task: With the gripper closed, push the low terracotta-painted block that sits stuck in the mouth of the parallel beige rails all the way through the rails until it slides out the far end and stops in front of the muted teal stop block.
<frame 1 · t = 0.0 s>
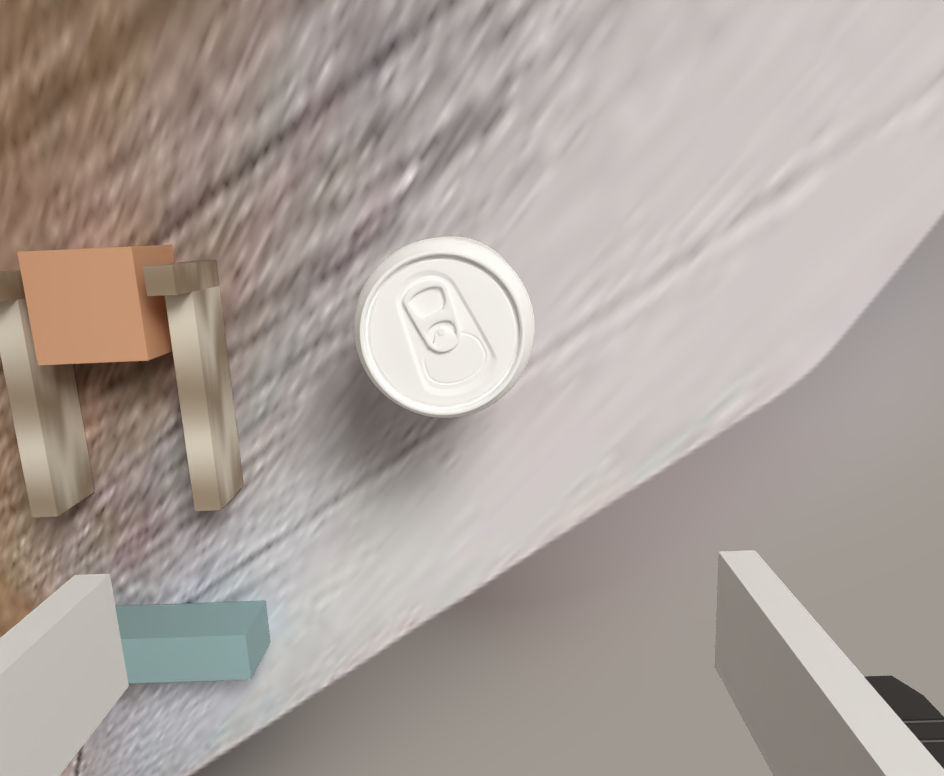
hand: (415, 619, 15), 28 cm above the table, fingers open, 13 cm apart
parallel beige rails: (141, 380, 43), on the table
stop block: (177, 624, 46), on the table
beverage can: (453, 305, 42), on the table
block: (130, 298, 42), on the table
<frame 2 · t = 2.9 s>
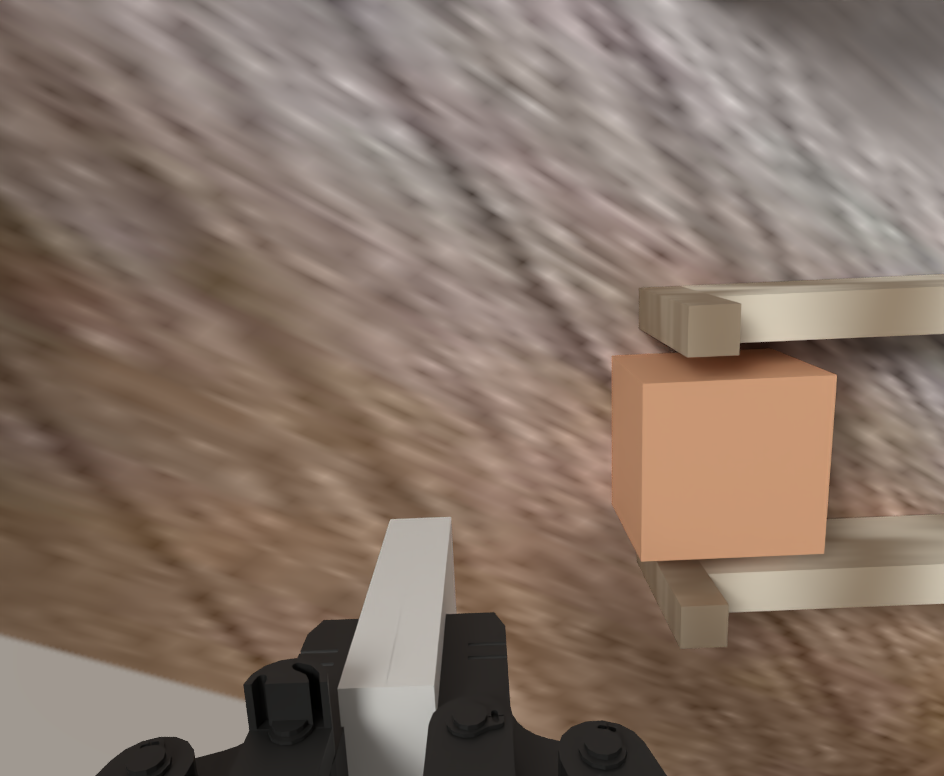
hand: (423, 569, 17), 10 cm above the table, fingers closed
parallel beige rails: (819, 423, 27), on the table
block: (688, 427, 27), on the table
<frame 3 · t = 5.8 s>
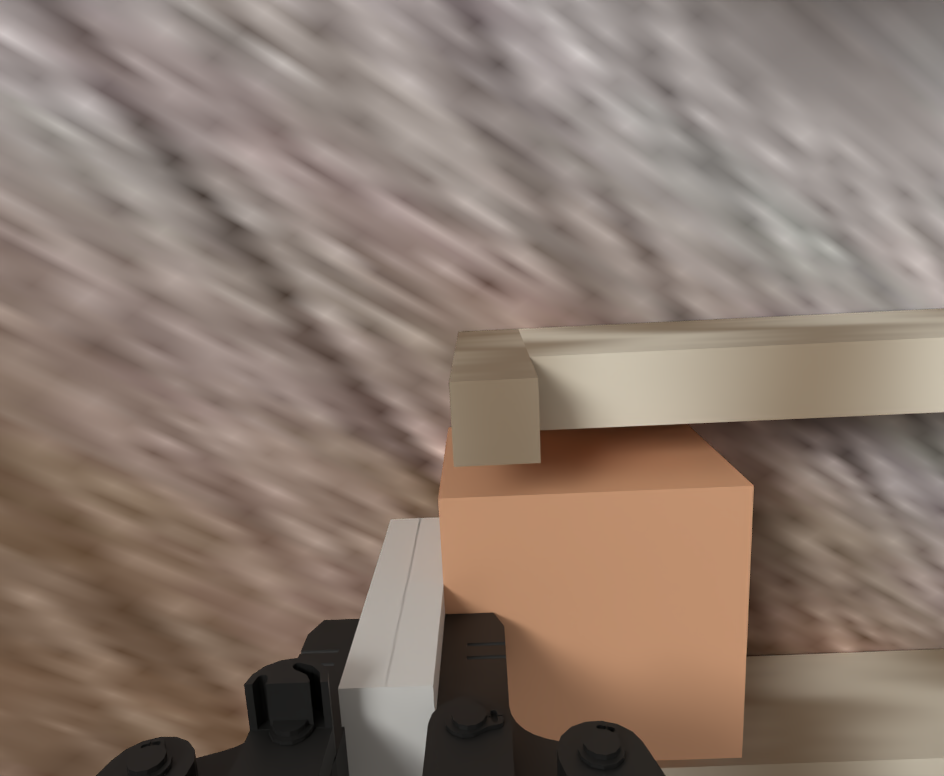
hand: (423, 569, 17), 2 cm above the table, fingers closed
parallel beige rails: (731, 523, 19), on the table
block: (565, 529, 19), on the table, touching gripper
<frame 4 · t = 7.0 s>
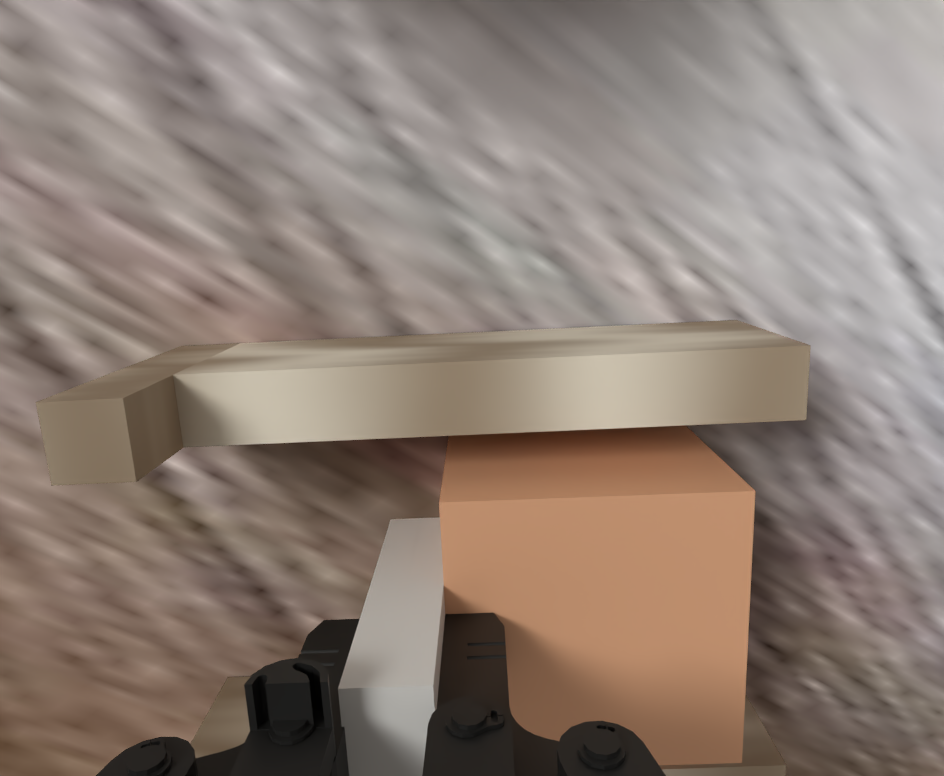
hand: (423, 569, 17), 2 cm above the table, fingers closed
parallel beige rails: (467, 535, 19), on the table
block: (566, 532, 19), on the table
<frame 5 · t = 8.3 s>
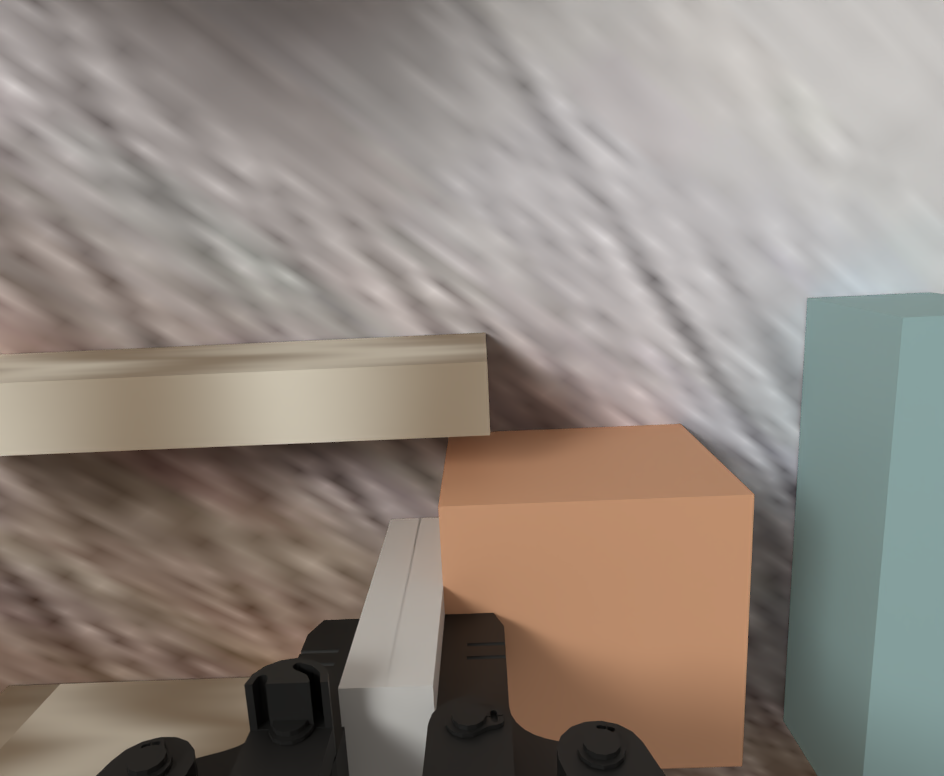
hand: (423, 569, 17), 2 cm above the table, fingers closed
parallel beige rails: (235, 546, 19), on the table
stop block: (851, 522, 19), on the table
block: (566, 535, 19), on the table, touching gripper
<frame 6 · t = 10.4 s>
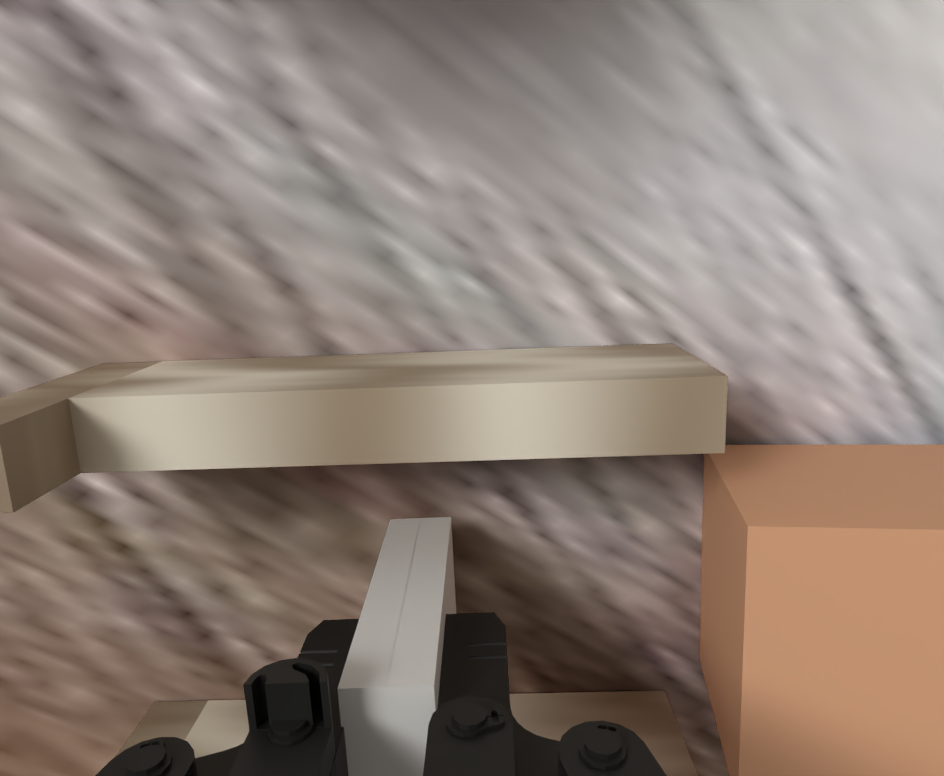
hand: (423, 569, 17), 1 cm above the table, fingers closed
parallel beige rails: (398, 561, 18), on the table
block: (825, 558, 18), on the table, tilted 8°
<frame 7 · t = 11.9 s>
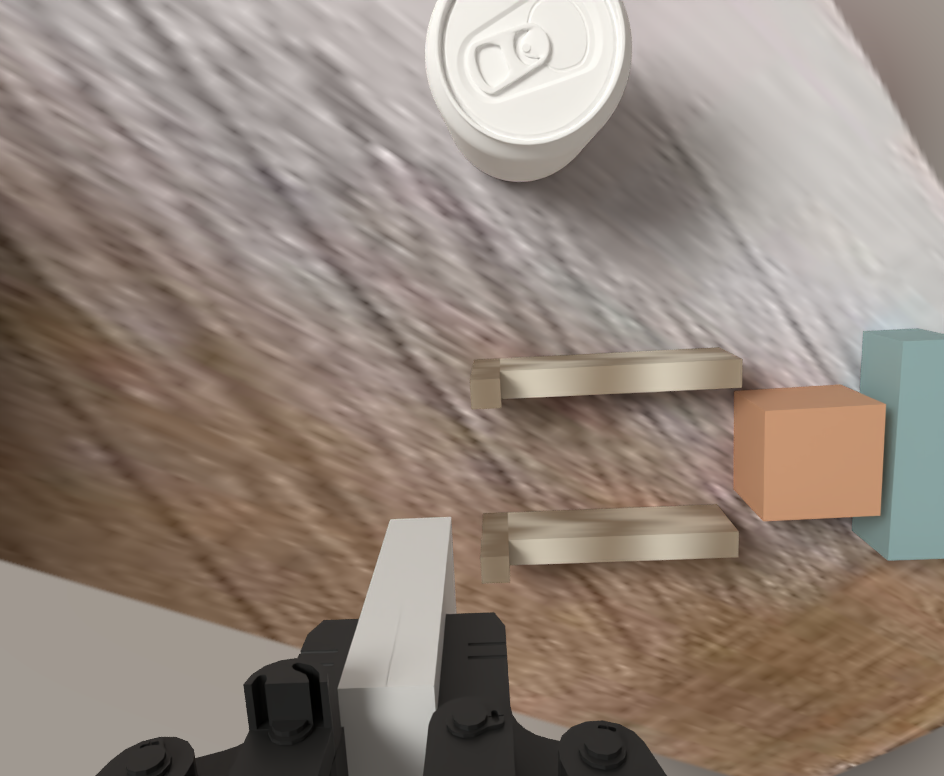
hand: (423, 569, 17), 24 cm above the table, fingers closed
parallel beige rails: (597, 445, 41), on the table
stop block: (883, 432, 41), on the table
beverage can: (520, 105, 38), on the table
block: (785, 437, 41), on the table
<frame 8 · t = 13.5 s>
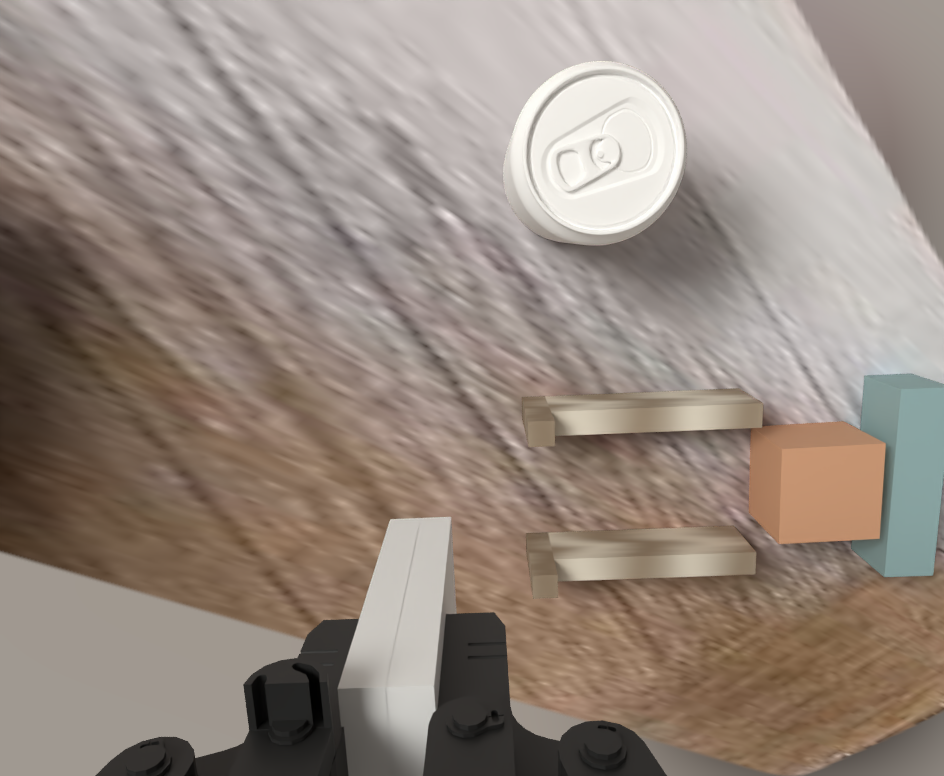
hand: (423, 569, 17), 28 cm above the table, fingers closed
parallel beige rails: (629, 473, 47), on the table
stop block: (880, 463, 46), on the table
beverage can: (569, 174, 43), on the table
block: (794, 467, 47), on the table
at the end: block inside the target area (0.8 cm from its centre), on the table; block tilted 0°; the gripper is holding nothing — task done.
